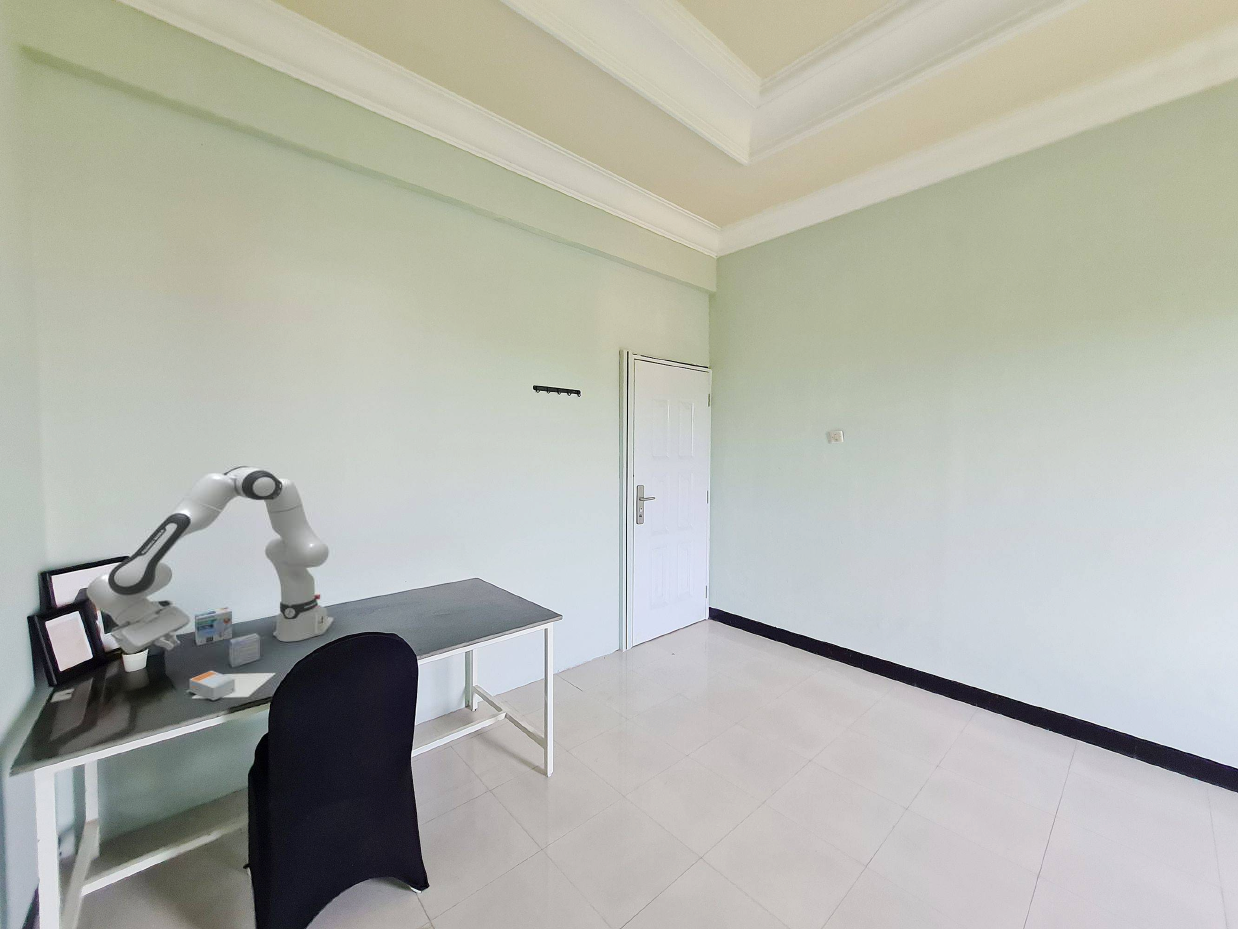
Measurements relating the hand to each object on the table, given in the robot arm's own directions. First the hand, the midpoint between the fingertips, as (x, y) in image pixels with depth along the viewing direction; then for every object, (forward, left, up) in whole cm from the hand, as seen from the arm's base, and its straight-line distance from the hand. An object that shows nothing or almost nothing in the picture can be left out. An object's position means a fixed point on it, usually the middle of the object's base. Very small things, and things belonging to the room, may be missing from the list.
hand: (175, 646), depth 148 cm
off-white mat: (0, +17, -13) cm, 22 cm away
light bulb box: (-35, -14, -14) cm, 40 cm away
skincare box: (+1, +7, -11) cm, 13 cm away
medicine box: (-16, +10, -14) cm, 23 cm away
